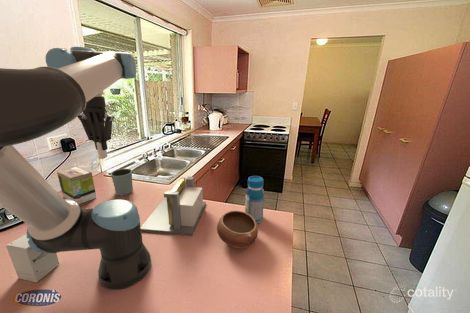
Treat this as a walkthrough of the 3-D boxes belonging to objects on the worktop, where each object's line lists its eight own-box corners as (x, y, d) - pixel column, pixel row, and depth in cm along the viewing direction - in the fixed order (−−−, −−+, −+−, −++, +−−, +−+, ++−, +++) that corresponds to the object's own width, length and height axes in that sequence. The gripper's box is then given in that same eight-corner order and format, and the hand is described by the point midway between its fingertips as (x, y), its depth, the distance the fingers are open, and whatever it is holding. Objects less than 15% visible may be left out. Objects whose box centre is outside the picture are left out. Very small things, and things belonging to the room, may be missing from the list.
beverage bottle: (255, 226, 92) (257, 184, 85) (240, 218, 97) (241, 178, 91) (266, 218, 97) (269, 178, 91) (251, 211, 103) (254, 173, 96)
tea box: (97, 197, 112) (92, 171, 107) (75, 206, 104) (69, 178, 99) (83, 190, 119) (78, 165, 115) (62, 197, 111) (55, 171, 107)
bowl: (250, 260, 74) (252, 236, 71) (210, 248, 79) (209, 225, 76) (261, 233, 88) (262, 212, 85) (226, 224, 93) (226, 204, 90)
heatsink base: (205, 204, 108) (204, 172, 103) (192, 235, 85) (190, 197, 80) (163, 201, 110) (160, 170, 104) (139, 231, 87) (134, 193, 82)
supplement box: (37, 283, 64) (24, 249, 60) (17, 278, 65) (4, 245, 61) (60, 264, 71) (51, 232, 67) (42, 260, 72) (32, 229, 68)
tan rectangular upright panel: (187, 201, 107) (186, 177, 102) (173, 225, 88) (171, 197, 84) (182, 201, 107) (181, 177, 103) (168, 224, 89) (165, 197, 84)
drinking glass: (128, 186, 125) (125, 167, 121) (138, 191, 120) (135, 171, 116) (110, 192, 117) (107, 172, 113) (120, 198, 112) (116, 177, 108)
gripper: (115, 95, 79) (124, 155, 87) (82, 94, 80) (94, 154, 88) (102, 96, 72) (113, 161, 80) (66, 95, 73) (80, 160, 81)
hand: (103, 157), depth 84 cm, fingers closed
